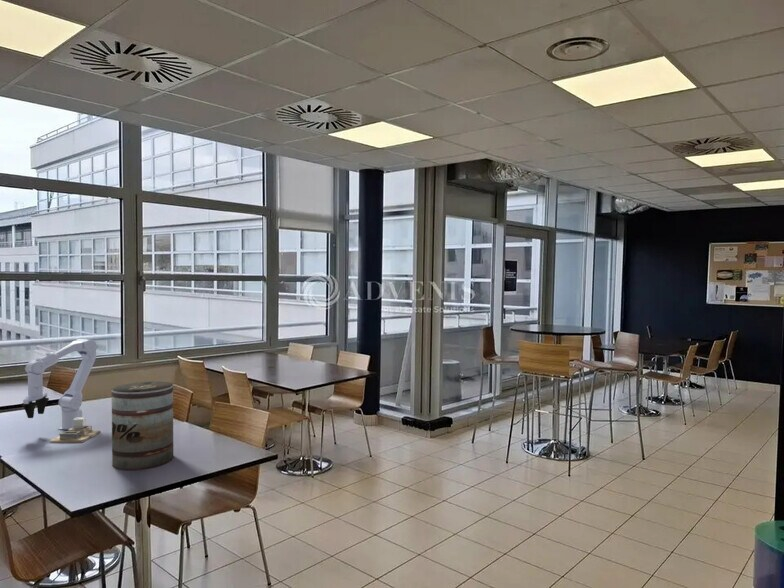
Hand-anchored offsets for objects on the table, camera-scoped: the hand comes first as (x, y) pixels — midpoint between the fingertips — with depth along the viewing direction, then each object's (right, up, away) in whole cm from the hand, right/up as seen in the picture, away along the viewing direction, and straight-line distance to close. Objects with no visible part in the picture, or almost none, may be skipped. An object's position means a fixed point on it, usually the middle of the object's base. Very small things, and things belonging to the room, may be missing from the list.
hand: (35, 415), depth 251 cm
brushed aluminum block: (+20, -8, +1) cm, 22 cm away
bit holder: (+20, -10, -2) cm, 22 cm away
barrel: (+66, -11, -34) cm, 75 cm away
